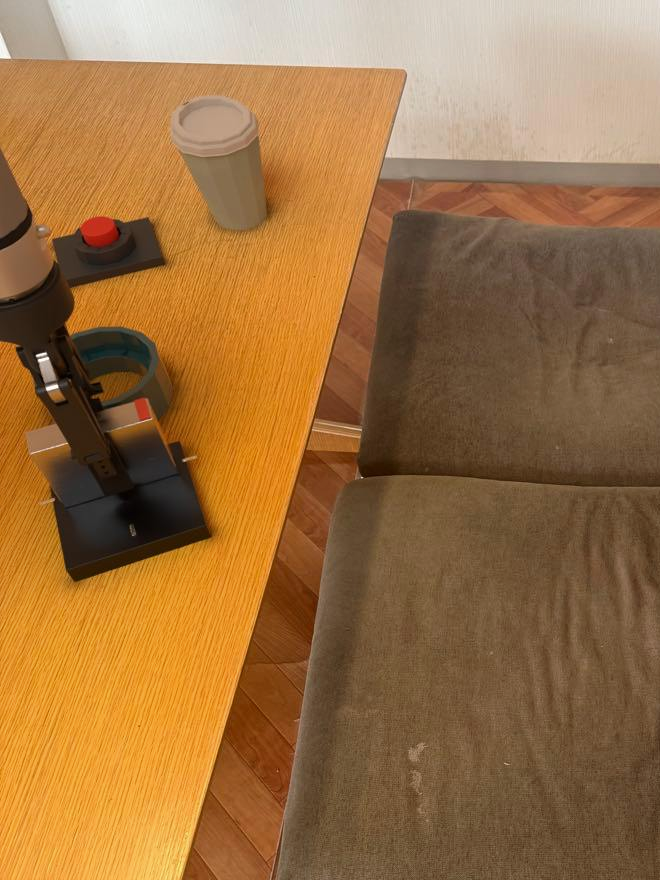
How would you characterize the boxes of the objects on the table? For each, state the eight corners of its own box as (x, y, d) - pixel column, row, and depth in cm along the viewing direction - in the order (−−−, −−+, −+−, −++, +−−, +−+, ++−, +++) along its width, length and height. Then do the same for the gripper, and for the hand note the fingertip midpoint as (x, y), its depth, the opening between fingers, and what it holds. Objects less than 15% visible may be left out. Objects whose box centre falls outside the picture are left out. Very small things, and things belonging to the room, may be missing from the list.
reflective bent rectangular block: (65, 508, 87) (28, 452, 80) (60, 486, 89) (23, 429, 82) (179, 473, 90) (152, 416, 83) (172, 453, 92) (146, 395, 85)
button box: (69, 295, 110) (55, 268, 107) (58, 253, 115) (45, 226, 111) (167, 271, 113) (157, 244, 110) (153, 231, 118) (143, 204, 115)
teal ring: (65, 462, 94) (41, 423, 89) (49, 385, 101) (26, 344, 96) (186, 427, 98) (169, 388, 93) (162, 354, 104) (145, 314, 99)
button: (88, 251, 109) (82, 238, 108) (83, 232, 111) (77, 220, 110) (121, 243, 110) (116, 231, 109) (116, 225, 113) (111, 213, 111)
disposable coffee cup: (298, 217, 121) (274, 109, 108) (240, 257, 115) (208, 148, 103) (241, 189, 124) (212, 82, 112) (183, 227, 119) (145, 118, 106)
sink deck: (66, 591, 85) (52, 573, 82) (43, 470, 94) (30, 450, 91) (225, 539, 89) (217, 520, 87) (189, 427, 98) (180, 407, 95)
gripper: (74, 333, 65) (172, 523, 84) (42, 200, 75) (136, 398, 94) (-36, 361, 63) (89, 550, 82) (-56, 221, 73) (61, 419, 92)
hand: (114, 469), depth 88 cm, fingers open, 5 cm apart
